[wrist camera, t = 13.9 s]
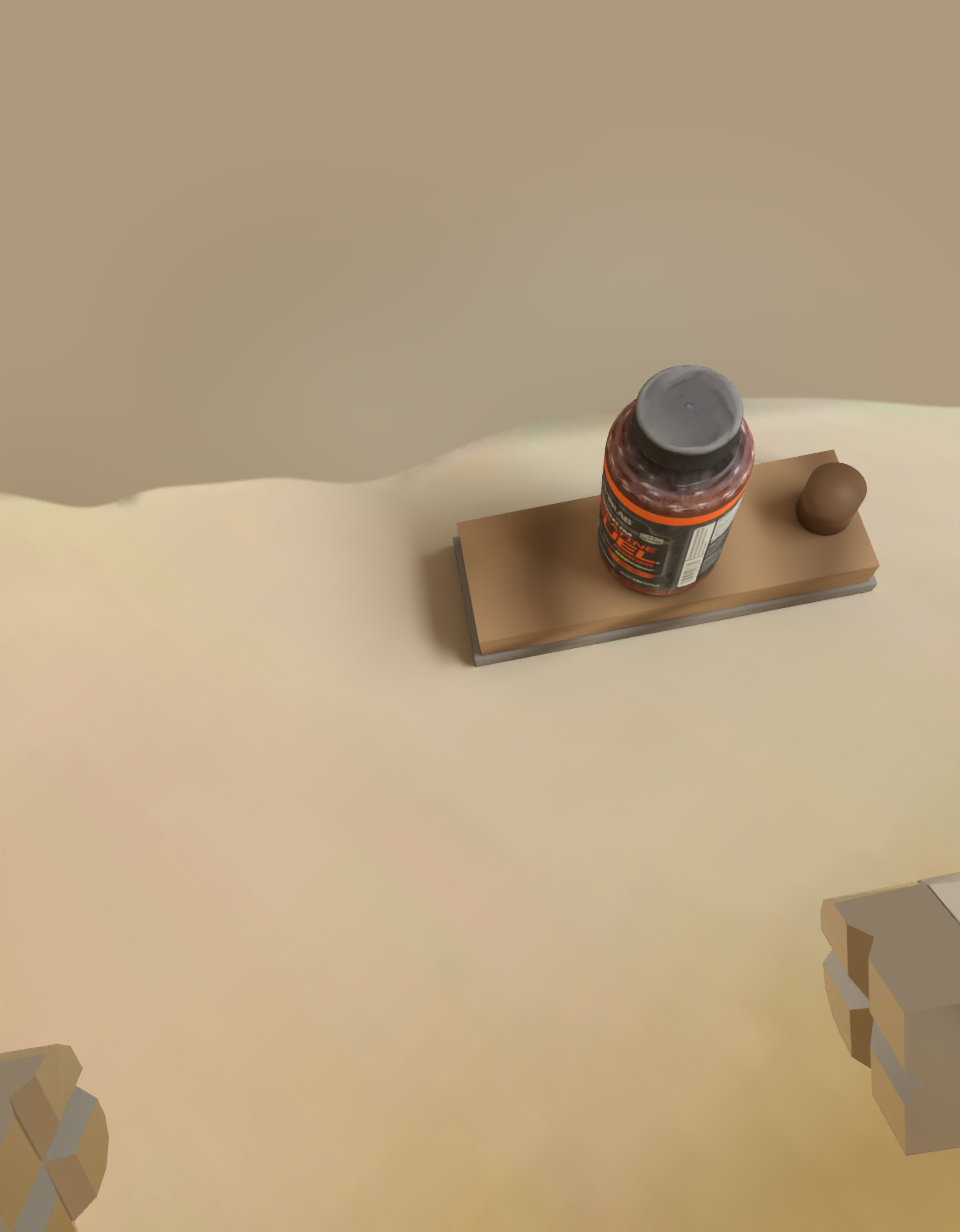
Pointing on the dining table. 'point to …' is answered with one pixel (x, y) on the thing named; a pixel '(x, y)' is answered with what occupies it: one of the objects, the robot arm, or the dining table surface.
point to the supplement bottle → (673, 480)
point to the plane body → (608, 610)
